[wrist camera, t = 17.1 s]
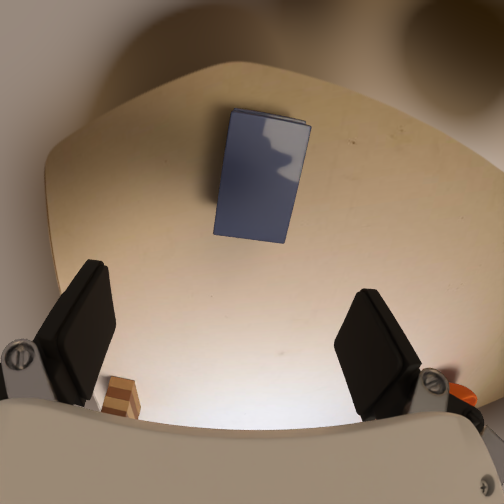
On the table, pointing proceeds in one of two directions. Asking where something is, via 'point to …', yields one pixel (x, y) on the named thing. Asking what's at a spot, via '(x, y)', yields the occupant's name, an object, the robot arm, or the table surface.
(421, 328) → the table surface
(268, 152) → the navy book
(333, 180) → the table surface
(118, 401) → the tan books
